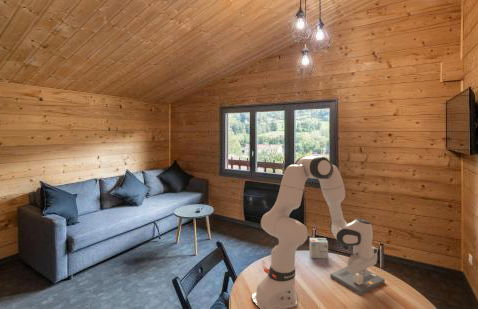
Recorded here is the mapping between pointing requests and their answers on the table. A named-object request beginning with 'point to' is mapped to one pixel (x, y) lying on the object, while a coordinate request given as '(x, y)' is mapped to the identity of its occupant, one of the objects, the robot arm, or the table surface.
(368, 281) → the panel
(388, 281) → the table surface
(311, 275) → the table surface
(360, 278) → the block
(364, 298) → the table surface
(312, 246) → the light bulb box
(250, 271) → the table surface
